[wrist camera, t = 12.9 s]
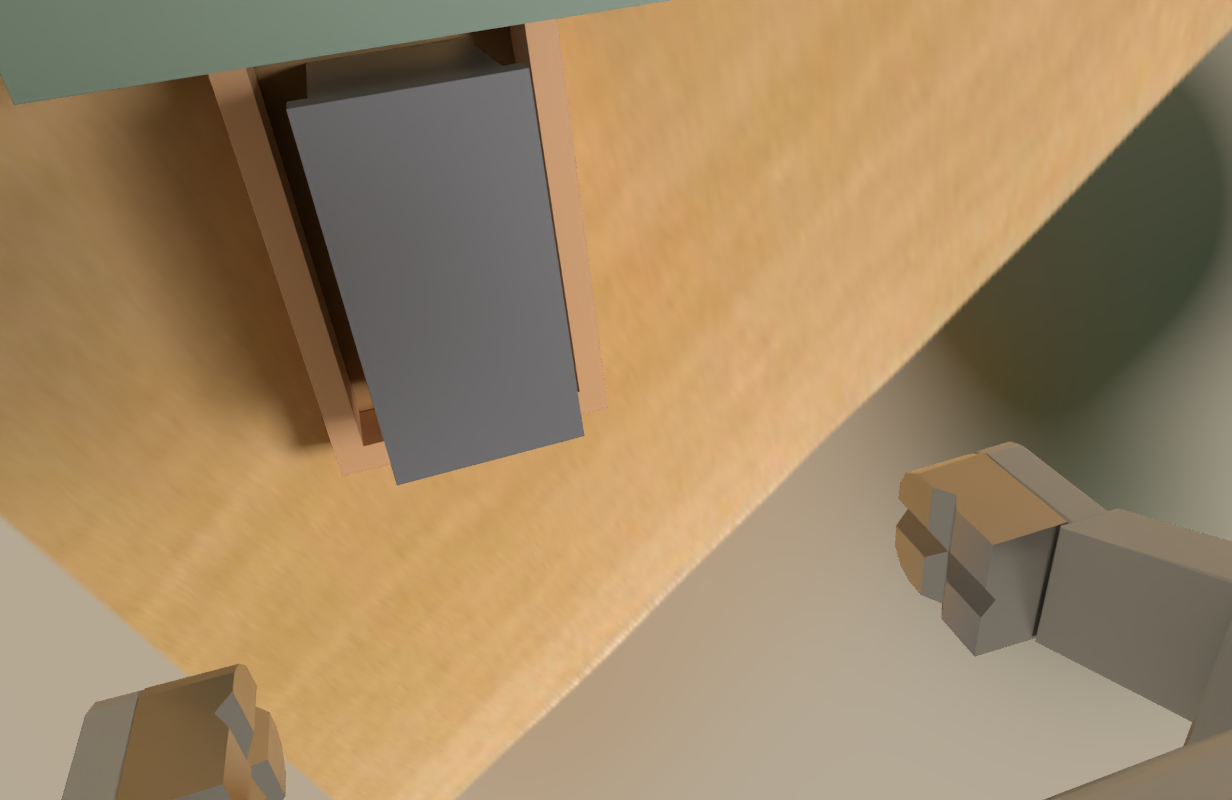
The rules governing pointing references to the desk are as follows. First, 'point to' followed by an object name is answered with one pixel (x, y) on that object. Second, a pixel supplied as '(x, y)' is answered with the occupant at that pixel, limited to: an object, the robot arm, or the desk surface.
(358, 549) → the desk surface
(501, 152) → the grey stepped block
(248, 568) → the desk surface
